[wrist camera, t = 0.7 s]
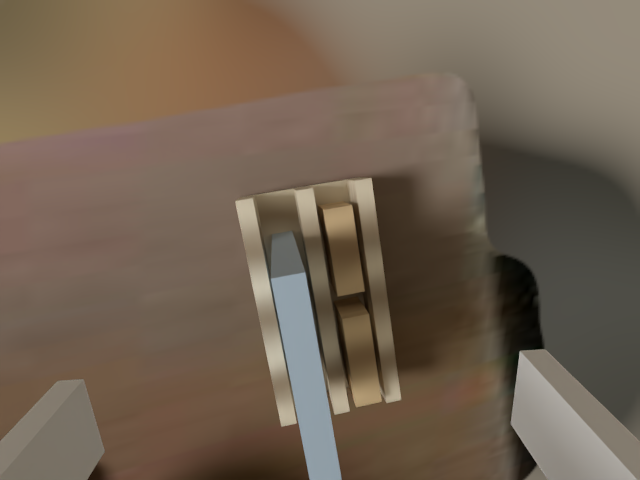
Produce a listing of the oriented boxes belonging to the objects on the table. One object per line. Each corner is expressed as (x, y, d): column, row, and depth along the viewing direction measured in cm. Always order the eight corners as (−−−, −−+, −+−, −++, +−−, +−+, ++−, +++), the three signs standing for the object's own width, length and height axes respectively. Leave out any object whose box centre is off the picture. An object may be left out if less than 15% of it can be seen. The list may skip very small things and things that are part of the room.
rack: (385, 371, 43) (401, 399, 37) (280, 394, 42) (281, 426, 36) (357, 177, 39) (371, 177, 33) (240, 197, 38) (235, 201, 32)
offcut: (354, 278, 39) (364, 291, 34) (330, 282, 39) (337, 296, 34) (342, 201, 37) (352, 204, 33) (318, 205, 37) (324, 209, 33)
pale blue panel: (315, 359, 40) (341, 479, 24) (296, 363, 40) (311, 486, 24) (292, 230, 37) (305, 272, 22) (272, 234, 37) (270, 278, 21)
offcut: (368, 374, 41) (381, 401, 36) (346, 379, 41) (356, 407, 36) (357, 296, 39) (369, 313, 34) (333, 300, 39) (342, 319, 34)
